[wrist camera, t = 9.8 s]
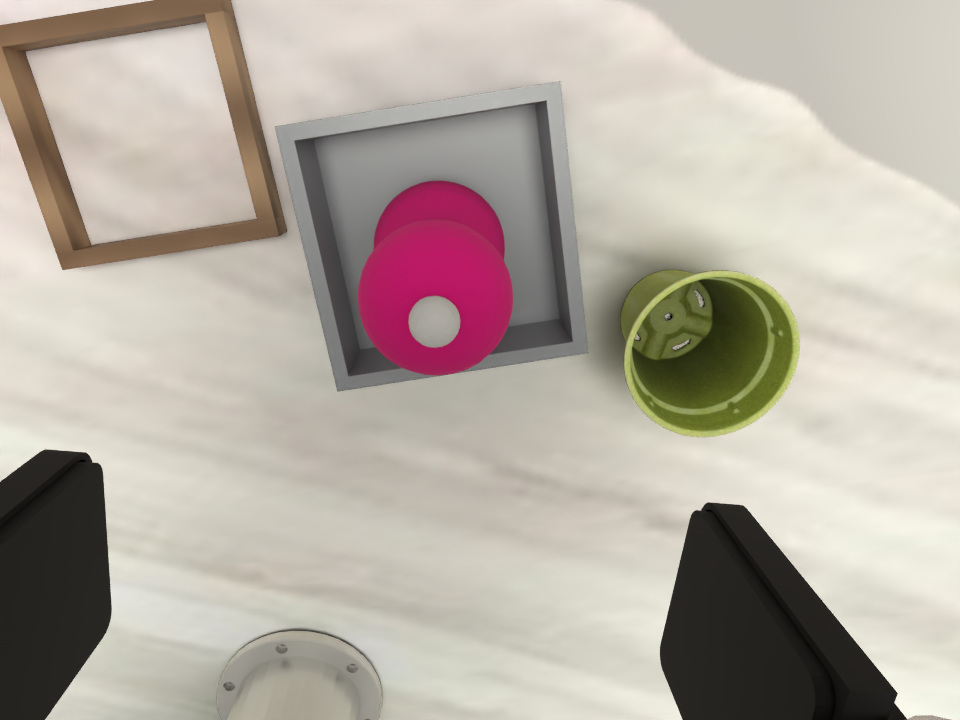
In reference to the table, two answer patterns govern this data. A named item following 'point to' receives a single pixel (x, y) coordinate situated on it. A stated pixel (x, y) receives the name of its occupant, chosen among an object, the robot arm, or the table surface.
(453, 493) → the table surface
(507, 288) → the pepper mill
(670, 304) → the plant pot
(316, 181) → the bin
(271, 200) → the brown wooden picture frame
